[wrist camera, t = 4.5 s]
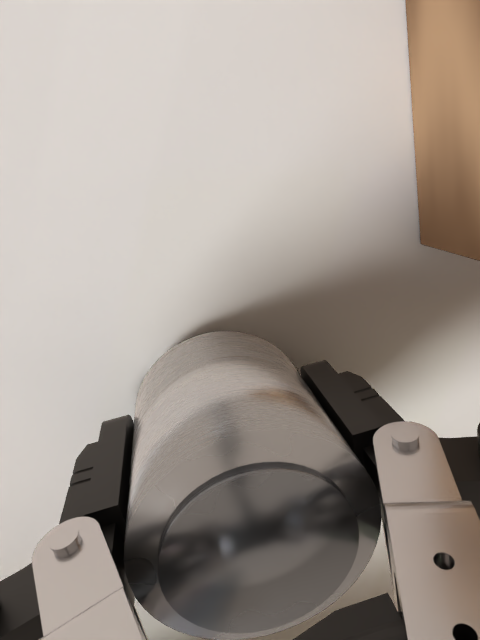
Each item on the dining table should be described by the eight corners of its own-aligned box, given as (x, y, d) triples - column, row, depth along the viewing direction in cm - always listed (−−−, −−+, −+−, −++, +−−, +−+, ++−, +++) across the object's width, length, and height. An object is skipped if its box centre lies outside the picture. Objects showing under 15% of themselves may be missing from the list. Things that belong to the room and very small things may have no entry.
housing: (112, 358, 12) (81, 494, 7) (287, 311, 12) (376, 407, 7) (162, 499, 14) (165, 686, 9) (313, 453, 14) (398, 606, 9)
